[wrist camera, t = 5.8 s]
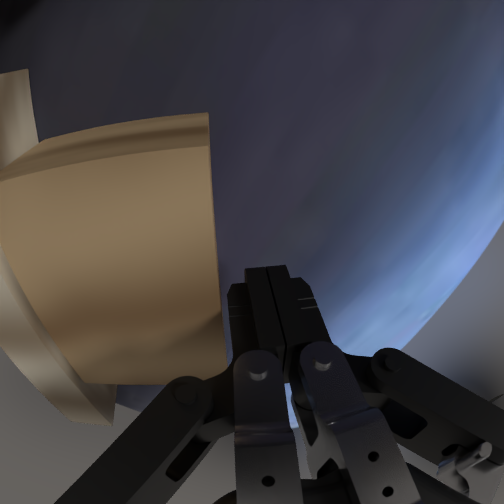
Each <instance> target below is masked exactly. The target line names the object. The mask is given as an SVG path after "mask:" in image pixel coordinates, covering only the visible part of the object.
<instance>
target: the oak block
mask: <svg viewBox="0 0 504 504" xmlns="http://www.w3.org/2000/svg"><path fill="white" fill-rule="evenodd" d="M0 245H1V247H2V249H3V251H4V254H5V256H6V258H7V260H8V262H9V264H10V266H11V268H12V270H13V272H14V274H15V276H16V278H17V280H18V282H19V284H20V286H21V288H22V290H23V291H24V293H25V295H26V297H27V299H28V300H29V302H30V304H31V306H32V307H33V309H34V311H35V312H36V314H37V316H38V317H39V319H40V321H41V322H42V324H43V325H44V327H45V328H46V330H47V332H48V333H49V335H50V336H51V338H52V339H53V341H54V342H55V344H56V345H57V346H58V348H59V349H60V351H61V352H62V354H63V355H64V356H65V358H66V359H67V361H68V362H69V363H70V365H71V366H72V367H73V369H74V370H75V371H76V373H77V374H78V375H79V376H80V378H81V379H82V380H83V381H84V383H95V384H120V385H167V384H168V383H169V382H171V381H172V380H173V379H176V378H178V377H181V376H194V377H198V378H200V379H202V380H206V379H208V378H211V377H214V376H216V375H218V374H220V373H222V372H223V371H225V370H226V369H227V368H228V365H227V355H226V345H225V335H224V324H223V313H222V302H221V292H220V281H219V270H218V258H217V246H216V233H215V220H214V206H213V191H212V175H211V158H210V138H209V117H208V113H197V114H185V115H175V116H166V117H158V118H150V119H143V120H136V121H130V122H124V123H118V124H112V125H107V126H101V127H96V128H91V129H87V130H82V131H78V132H73V133H69V134H65V135H61V136H57V137H53V138H49V139H46V140H43V141H42V142H40V143H39V144H37V145H36V146H34V147H33V148H31V149H30V150H28V151H27V152H25V153H24V154H22V155H21V156H20V157H18V158H17V159H16V160H14V161H13V162H11V163H10V164H9V165H7V166H6V167H5V168H4V169H2V170H1V171H0Z"/></svg>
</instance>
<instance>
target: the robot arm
mask: <svg viewBox="0 0 504 504" xmlns="http://www.w3.org/2000/svg"><path fill="white" fill-rule="evenodd" d="M227 299H228V310H229V321H230V331H231V340H232V349H233V359H232V362H231V364H230V365H229V367H228V368H227V369H226V370H225V371H223V372H222V373H220V374H218V375H216V376H214V377H211V378H208V379H206V380H202V379H200V378H198V377H194V376H181V377H178V378H176V379H173V380H172V381H171V382H169V383H168V384H167V385H166V386H165V388H164V389H163V390H162V391H161V392H160V393H159V394H158V395H157V396H156V397H155V398H154V400H153V401H152V402H151V403H150V404H149V405H148V406H147V407H146V408H145V409H144V410H143V411H142V413H141V414H140V415H139V416H138V417H137V418H136V419H135V420H134V421H133V422H132V423H131V424H130V425H129V426H128V428H127V429H126V430H125V431H124V432H123V433H122V434H121V435H120V436H119V437H118V438H117V439H116V440H115V441H114V442H113V444H111V446H110V447H109V448H108V449H107V450H106V451H105V452H104V453H103V454H102V455H101V456H100V457H99V458H98V459H97V460H96V461H95V462H94V463H93V464H92V465H91V467H89V468H88V469H87V470H86V471H85V472H84V473H83V475H82V476H81V477H80V478H79V479H78V480H77V481H76V482H75V483H74V484H73V485H72V486H71V487H70V488H69V489H68V490H67V491H66V492H65V493H64V494H63V495H62V496H61V497H60V498H59V499H58V500H57V501H56V502H55V503H54V504H166V503H167V502H168V500H169V499H170V498H171V497H172V496H173V494H175V492H176V491H177V490H178V489H179V488H180V486H181V485H182V484H183V483H184V482H185V480H186V479H187V478H188V477H189V476H190V474H191V473H192V472H193V471H194V470H195V468H196V467H197V466H198V464H199V463H200V462H201V461H202V460H203V458H204V457H205V456H206V454H207V453H208V452H209V451H210V449H211V448H212V447H213V445H214V444H215V443H216V441H217V440H218V439H219V438H221V437H223V436H226V435H228V434H230V433H233V432H235V434H234V447H235V472H236V490H234V491H232V492H230V493H228V494H226V495H224V496H223V497H221V498H220V499H218V500H217V501H216V502H214V503H213V504H491V502H492V500H493V498H494V495H495V493H496V490H497V488H498V486H499V483H500V480H501V478H502V475H503V473H504V410H503V409H501V408H499V407H497V406H496V405H494V404H492V403H490V402H489V401H487V400H485V399H483V398H481V397H480V396H478V395H476V394H474V393H473V392H471V391H469V390H468V389H466V388H464V387H462V386H460V385H459V384H457V383H455V382H453V381H452V380H450V379H448V378H447V377H445V376H443V375H441V374H440V373H438V372H436V371H434V370H433V369H431V368H429V367H428V366H426V365H424V364H422V363H421V362H419V361H417V360H415V359H414V358H412V357H410V356H409V355H407V354H405V353H403V352H402V351H400V350H398V349H395V348H383V349H380V350H378V351H377V352H376V353H375V354H374V355H373V357H366V356H355V355H349V354H346V353H344V352H342V351H341V349H340V348H339V347H337V346H336V345H334V344H333V343H332V341H331V339H330V337H329V334H328V331H327V329H326V326H325V324H324V321H323V318H322V316H321V313H320V311H319V308H318V307H317V303H316V300H315V299H314V295H313V293H312V290H311V288H310V286H309V285H308V284H307V283H306V282H305V281H304V280H303V279H302V278H301V277H299V278H290V275H289V272H288V270H287V267H286V265H279V266H268V267H257V268H246V269H245V283H237V284H232V285H231V287H230V289H229V292H228V294H227ZM285 383H290V386H291V391H292V395H291V404H292V407H293V410H294V413H295V416H296V419H297V422H298V425H299V428H300V431H301V434H302V437H303V440H304V444H305V447H306V451H307V463H308V467H309V470H310V473H311V476H312V479H300V472H299V464H298V457H297V449H296V443H295V437H294V433H293V430H292V429H291V427H290V423H289V416H288V408H287V401H286V394H285V386H284V384H285ZM396 442H397V443H398V444H400V445H402V446H404V447H405V448H407V449H409V450H411V451H412V452H414V453H416V454H417V455H419V456H421V457H423V458H425V459H426V460H428V461H430V462H432V463H434V464H436V465H438V466H439V467H438V471H437V474H436V476H437V479H438V480H440V481H443V482H444V483H445V484H446V485H445V484H443V483H442V482H440V481H438V480H437V479H435V478H433V477H431V476H430V475H428V474H426V473H425V472H423V471H421V470H420V469H418V468H416V467H414V466H413V465H411V464H409V463H407V462H405V460H404V458H403V456H402V454H401V451H400V449H399V447H398V445H397V443H396Z"/></svg>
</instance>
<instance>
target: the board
mask: <svg viewBox="0 0 504 504" xmlns="http://www.w3.org/2000/svg"><path fill="white" fill-rule="evenodd" d="M37 144H39V142H38V137H37V131H36V126H35V120H34V114H33V107H32V100H31V92H30V83H29V72H28V69H23V70H18V71H13V72H9V73H4V74H0V171H1V170H2V169H4V168H5V167H6V166H7V165H9V164H10V163H11V162H13V161H14V160H16V159H17V158H18V157H20V156H21V155H22V154H24V153H25V152H27V151H28V150H30V149H31V148H33V147H34V146H36V145H37ZM0 346H1V348H2V349H3V350H4V351H5V353H6V354H7V355H8V356H9V358H10V359H11V360H12V361H13V363H14V364H15V365H16V366H17V367H18V368H19V370H20V371H21V372H22V373H23V374H24V375H25V376H26V377H27V379H28V380H29V381H30V382H31V383H32V384H33V385H34V386H35V387H36V388H37V389H38V390H39V391H40V392H41V393H42V394H43V395H44V396H45V397H46V398H47V399H48V400H49V401H50V402H51V403H52V404H53V405H54V406H55V407H56V408H57V409H58V410H59V411H60V412H61V413H62V414H63V415H65V416H66V417H67V418H68V419H69V420H70V421H71V422H78V423H87V424H95V425H106V426H113V419H114V409H115V401H116V393H117V385H118V384H95V383H84V381H83V380H82V379H81V378H80V376H79V375H78V374H77V373H76V371H75V370H74V369H73V367H72V366H71V365H70V363H69V362H68V361H67V359H66V358H65V356H64V355H63V354H62V352H61V351H60V349H59V348H58V346H57V345H56V344H55V342H54V341H53V339H52V338H51V336H50V335H49V333H48V332H47V330H46V328H45V327H44V325H43V324H42V322H41V321H40V319H39V317H38V316H37V314H36V312H35V311H34V309H33V307H32V306H31V304H30V302H29V300H28V299H27V297H26V295H25V293H24V291H23V290H22V288H21V286H20V284H19V282H18V280H17V278H16V276H15V274H14V272H13V270H12V268H11V266H10V264H9V262H8V260H7V258H6V256H5V254H4V251H3V249H2V247H1V245H0Z"/></svg>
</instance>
